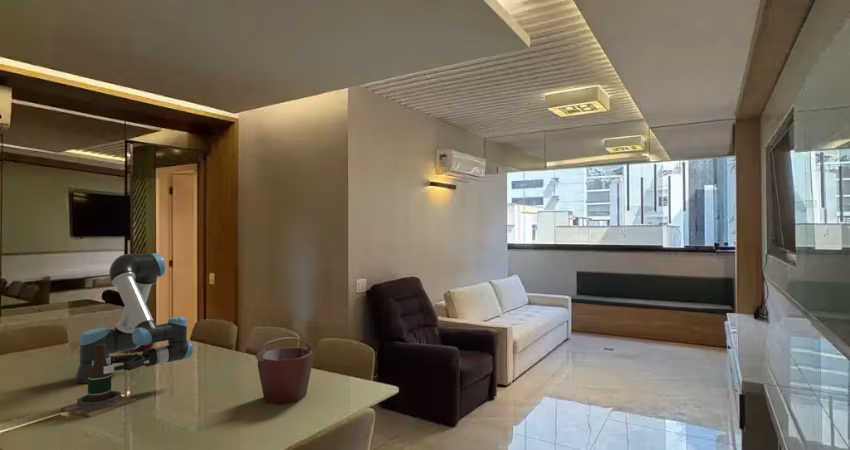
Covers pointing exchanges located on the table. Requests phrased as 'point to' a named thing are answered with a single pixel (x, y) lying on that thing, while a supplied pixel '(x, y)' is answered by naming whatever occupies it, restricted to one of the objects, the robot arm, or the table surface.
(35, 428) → the table surface
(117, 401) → the collar stand
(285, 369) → the bucket
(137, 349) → the fruit
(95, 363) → the beer bottle
